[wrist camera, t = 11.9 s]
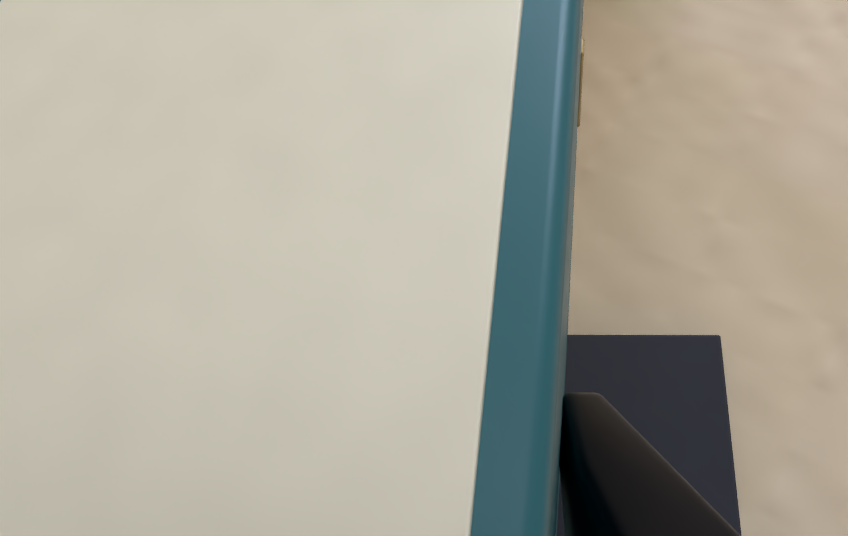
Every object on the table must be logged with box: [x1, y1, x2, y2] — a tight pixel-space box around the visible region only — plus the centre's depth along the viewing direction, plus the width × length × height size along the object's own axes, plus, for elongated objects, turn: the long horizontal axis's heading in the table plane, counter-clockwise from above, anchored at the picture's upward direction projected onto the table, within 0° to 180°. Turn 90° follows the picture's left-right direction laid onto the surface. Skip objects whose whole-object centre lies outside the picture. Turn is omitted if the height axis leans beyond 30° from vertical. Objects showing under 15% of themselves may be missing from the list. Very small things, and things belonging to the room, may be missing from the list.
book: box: [0, 0, 584, 536], centre depth 9 cm, size 7×3×13 cm, turn 173°
